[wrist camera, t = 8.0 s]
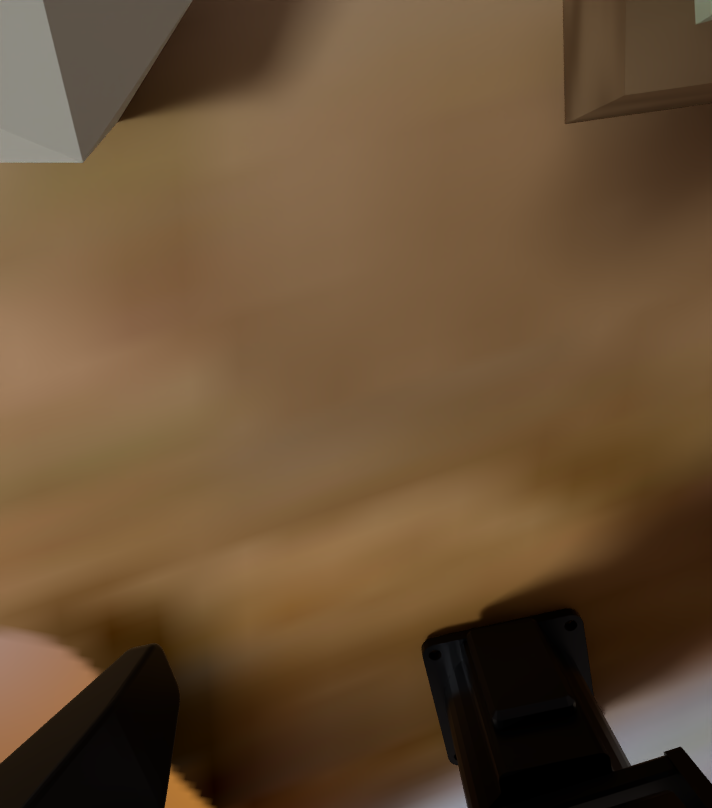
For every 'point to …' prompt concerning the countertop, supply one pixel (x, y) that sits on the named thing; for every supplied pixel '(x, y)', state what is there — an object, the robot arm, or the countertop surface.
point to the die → (74, 71)
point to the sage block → (703, 11)
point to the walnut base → (634, 57)
